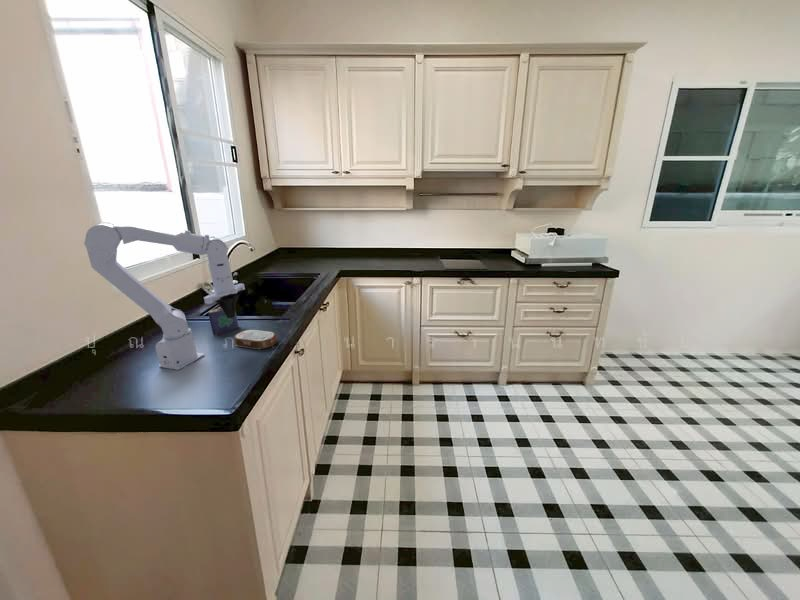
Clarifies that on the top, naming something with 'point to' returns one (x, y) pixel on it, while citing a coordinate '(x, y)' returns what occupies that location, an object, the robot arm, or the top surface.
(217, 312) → the flask
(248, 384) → the top surface
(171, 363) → the robot arm
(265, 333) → the tin
